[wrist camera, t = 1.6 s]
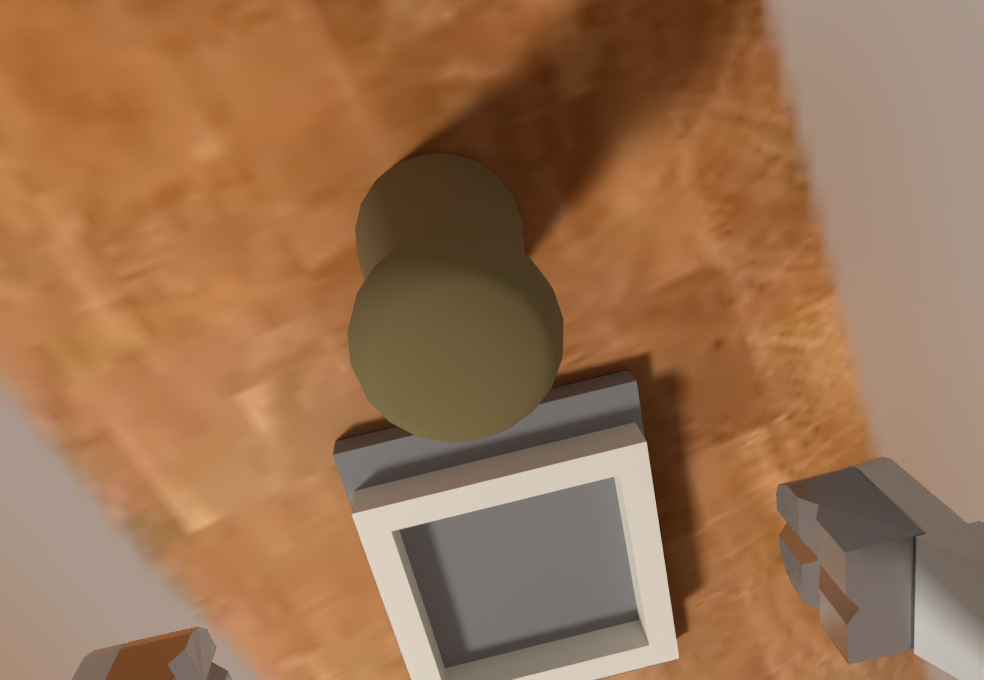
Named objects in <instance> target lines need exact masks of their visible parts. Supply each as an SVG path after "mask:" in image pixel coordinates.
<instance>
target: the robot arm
mask: <svg viewBox="0 0 984 680" xmlns="http://www.w3.org/2000/svg"><path fill="white" fill-rule="evenodd" d="M776 498H777V510H778V511H779V512H780V513H781V515H782V516H783V517H784V519H785V520H786V521H787V523H786V525H785V526H784V528H783V530H782V531H781V533H780V534H779V538H780V547H781V555H782V558H783V562H784V565H785V568H786V571H787V574H788V576H789V578H790V580H791V582H792V584H793V586H794V588H795V590H796V591H797V592H798V594H799V595H800V597H801V598H802V600H803V601H804V602H805V603H807V604H809V605H812V606H814V607H816V608H818V609H820V616H821V627H822V628H823V630H824V631H825V632H826V634H827V635H828V636H829V638H830V639H831V641H832V642H833V643H834V645H835V646H836V648H837V649H838V650H839V652H840V653H841V655H842V656H843V657H844V659H845V660H846V661H847V663H848V664H853V663H858V662H862V661H867V660H871V659H876V658H881V657H885V656H890V655H894V654H899V653H903V652H908V651H912V650H914V654H916V655H917V656H919V657H921V658H923V659H924V660H926V661H928V662H930V663H931V664H933V665H935V666H936V667H938V668H940V669H942V670H944V671H945V672H947V673H949V674H950V675H952V676H954V677H956V678H957V679H959V680H984V523H983V522H980V521H978V522H974V523H969V524H968V523H966V522H965V521H964V520H963V519H962V518H960V517H959V516H958V515H957V514H956V513H955V512H953V511H952V510H951V509H950V508H949V507H947V506H946V505H945V504H944V503H943V502H942V501H940V500H939V499H938V498H937V497H935V496H934V495H933V494H932V493H931V492H930V491H929V490H927V489H926V488H925V487H924V486H923V485H921V484H920V483H919V482H918V481H917V480H916V479H914V478H913V477H912V476H911V475H909V474H908V473H907V472H906V471H905V470H904V469H903V468H901V467H900V466H899V465H898V464H897V463H895V462H894V461H893V460H892V459H889V458H886V457H880V458H876V459H872V460H869V461H865V462H861V463H858V464H854V465H850V466H848V467H847V468H843V469H839V470H835V471H831V472H827V473H823V474H819V475H815V476H811V477H807V478H803V479H799V480H795V481H791V482H787V483H783V484H779V485H778V489H777V493H776ZM215 650H216V645H215V644H214V642H213V640H212V638H211V636H210V634H209V632H208V631H207V629H204V628H201V627H195V628H190V629H185V630H181V631H176V632H172V633H168V634H163V635H158V636H154V637H149V638H145V639H140V640H136V641H132V642H129V643H127V644H120V645H116V646H111V647H107V648H103V649H98V650H94V651H92V652H91V653H90V654H88V655H87V656H85V657H84V658H83V660H82V662H81V663H80V665H79V667H78V669H77V671H76V673H75V675H74V677H73V678H72V680H232V679H231V677H230V675H229V672H228V671H227V670H225V669H223V668H222V667H219V666H218V665H216V664H214V663H213V662H212V660H213V656H214V653H215Z"/></svg>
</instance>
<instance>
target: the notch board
mask: <svg viewBox="0 0 984 680" xmlns="http://www.w3.org/2000/svg"><path fill="white" fill-rule="evenodd" d="M333 456H334V459H335V462H336V464H337V467H338V470H339V473H340V476H341V478H342V481H343V484H344V487H345V490H346V492H347V495H348V498H349V501H350V503H351V506H352V517H353V519H354V522H355V525H356V528H357V531H358V533H359V536H360V539H361V542H362V544H363V547H364V550H365V553H366V555H367V558H368V561H369V564H370V567H371V569H372V572H373V575H374V578H375V580H376V583H377V586H378V589H379V591H380V594H381V597H382V600H383V603H384V605H385V608H386V611H387V614H388V616H389V619H390V622H391V625H392V627H393V630H394V633H395V636H396V639H397V641H398V644H399V647H400V650H401V652H402V655H403V658H404V661H405V663H406V666H407V669H408V672H409V675H410V677H411V680H598V679H602V678H606V677H610V676H614V675H618V674H622V673H626V672H630V671H634V670H638V669H642V668H646V667H650V666H654V665H658V664H662V663H666V662H670V661H674V660H678V659H679V654H678V647H677V640H676V634H675V627H674V621H673V614H672V607H671V601H670V594H669V587H668V581H667V574H666V567H665V561H664V554H663V547H662V541H661V534H660V527H659V521H658V514H657V507H656V501H655V494H654V488H653V481H652V474H651V468H650V461H649V454H648V448H647V441H646V440H645V433H644V427H643V420H642V413H641V407H640V400H639V394H638V387H637V381H636V379H635V378H634V376H633V374H632V373H631V371H630V370H626V371H622V372H618V373H614V374H609V375H605V376H601V377H597V378H593V379H589V380H585V381H581V382H577V383H573V384H568V385H564V386H560V387H556V388H552V389H550V390H549V392H548V393H547V394H546V396H545V397H544V398H543V400H542V401H541V402H540V403H539V405H538V406H537V407H536V409H535V410H534V411H533V412H532V413H531V414H529V415H528V416H526V417H525V418H524V419H522V420H521V421H519V422H518V423H517V424H515V425H514V426H513V427H511V428H510V429H508V430H506V431H503V432H501V433H498V434H495V435H492V436H490V437H487V438H484V439H481V440H478V441H466V442H452V443H447V442H442V441H437V440H432V439H427V438H422V437H417V436H415V435H413V434H411V433H409V432H407V431H406V430H404V429H402V428H400V427H398V426H396V427H392V428H388V429H384V430H380V431H376V432H372V433H368V434H364V435H360V436H355V437H351V438H347V439H343V440H339V441H335V446H334V452H333Z"/></svg>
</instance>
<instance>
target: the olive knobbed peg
mask: <svg viewBox="0 0 984 680" xmlns="http://www.w3.org/2000/svg"><path fill="white" fill-rule="evenodd" d="M355 232H356V242H357V252H358V258H359V262H360V266H361V270H362V273H363V277H364V281H365V282H364V283H363V285H362V286H361V288H360V289H359V291H358V292H357V296H356V300H355V304H354V308H353V312H352V316H351V321H350V325H349V329H348V341H349V351H350V360H351V365H352V368H353V370H354V372H355V374H356V376H357V378H358V380H359V382H360V384H361V387H362V389H363V391H364V393H365V395H366V397H367V399H368V401H369V402H370V403H371V404H372V405H373V406H374V407H375V408H376V409H377V410H378V411H379V412H380V413H381V414H382V415H383V416H384V417H385V418H386V419H387V420H388V421H389V422H390V423H392V424H394V425H396V426H398V427H400V428H402V429H404V430H406V431H407V432H409V433H411V434H413V435H415V436H417V437H422V438H427V439H432V440H437V441H442V442H447V443H452V442H466V441H478V440H481V439H484V438H487V437H490V436H492V435H495V434H498V433H501V432H503V431H506V430H508V429H510V428H511V427H513V426H514V425H515V424H517V423H518V422H519V421H521V420H522V419H524V418H525V417H526V416H528V415H529V414H531V413H532V412H533V411H534V410H535V409H536V407H537V406H538V405H539V403H540V402H541V401H542V400H543V398H544V397H545V396H546V394H547V393H548V392H549V390H550V389H551V388H552V385H553V383H554V380H555V377H556V374H557V372H558V369H559V366H560V363H561V360H562V354H563V317H562V314H561V311H560V308H559V305H558V302H557V299H556V296H555V293H554V290H553V288H552V287H551V285H550V284H549V282H548V281H547V279H546V278H545V277H544V276H543V274H542V273H541V272H540V270H539V269H538V268H537V267H536V265H535V264H534V263H533V261H532V260H531V259H530V258H529V257H528V256H527V255H525V242H524V228H523V220H522V217H521V214H520V211H519V208H518V205H517V202H516V199H515V196H514V195H513V194H512V192H511V191H510V190H509V189H508V187H507V186H506V185H505V183H504V182H503V181H502V179H501V178H500V177H499V175H497V174H496V173H494V172H493V171H491V170H490V169H488V168H487V167H485V166H484V165H482V164H481V163H479V162H478V161H477V160H473V159H470V158H466V157H463V156H459V155H456V154H452V153H433V154H421V155H418V156H416V157H413V158H410V159H408V160H405V161H402V162H400V163H397V164H396V165H394V166H393V167H392V168H391V169H390V170H388V171H387V172H386V173H385V174H383V175H382V176H381V177H380V178H379V179H377V180H376V181H375V183H374V184H373V186H372V187H371V189H370V191H369V192H368V194H367V195H366V197H365V199H364V200H363V202H362V203H361V207H360V211H359V216H358V220H357V224H356V228H355Z"/></svg>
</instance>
